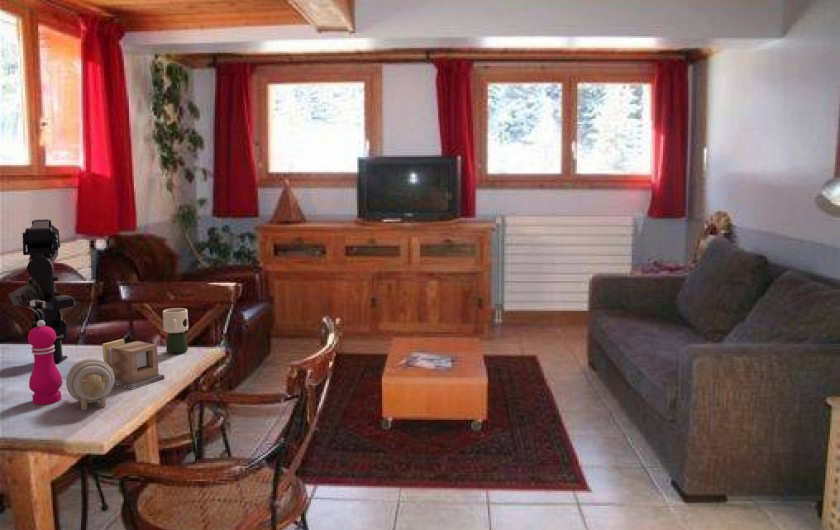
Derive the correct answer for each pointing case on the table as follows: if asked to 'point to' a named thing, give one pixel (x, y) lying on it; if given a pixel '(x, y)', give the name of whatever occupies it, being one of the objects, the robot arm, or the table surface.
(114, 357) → the wooden drawer box
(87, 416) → the table surface
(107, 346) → the tan drawer
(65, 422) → the table surface
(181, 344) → the character mug
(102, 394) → the toy sheep
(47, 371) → the pepper mill
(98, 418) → the table surface
